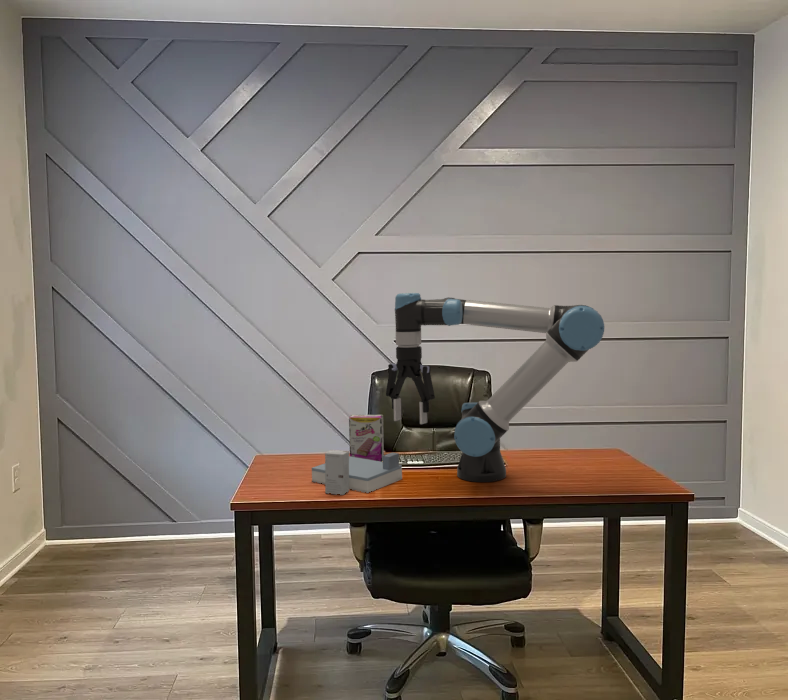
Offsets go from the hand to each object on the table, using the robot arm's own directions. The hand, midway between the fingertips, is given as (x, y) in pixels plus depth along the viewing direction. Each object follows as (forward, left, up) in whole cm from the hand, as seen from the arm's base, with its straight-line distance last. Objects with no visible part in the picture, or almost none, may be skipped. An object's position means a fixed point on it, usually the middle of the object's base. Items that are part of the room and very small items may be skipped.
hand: (410, 421), depth 206 cm
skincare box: (+15, +17, -20) cm, 30 cm away
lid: (+17, +4, -16) cm, 24 cm away
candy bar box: (+28, -13, -20) cm, 36 cm away
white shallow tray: (+18, +5, -19) cm, 27 cm away
